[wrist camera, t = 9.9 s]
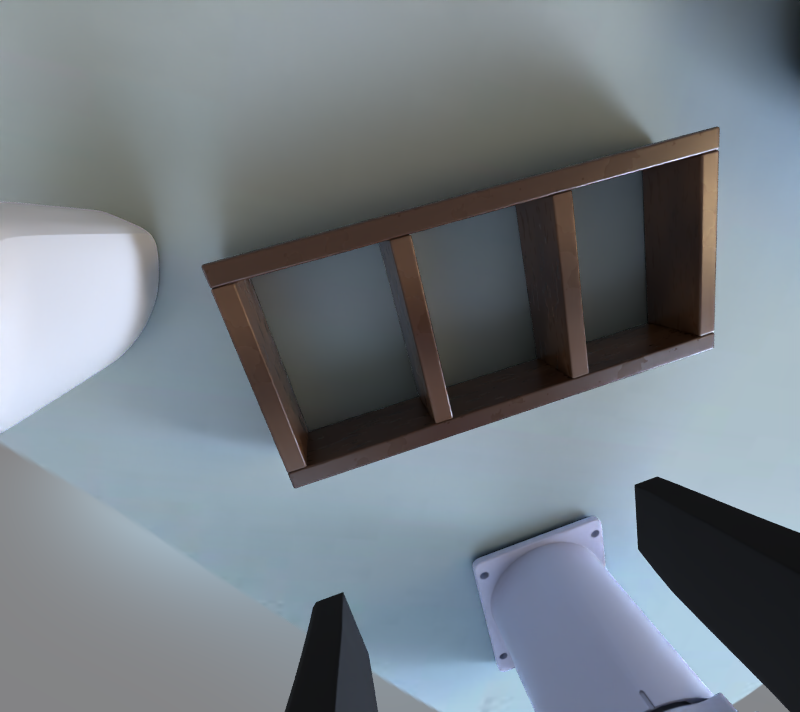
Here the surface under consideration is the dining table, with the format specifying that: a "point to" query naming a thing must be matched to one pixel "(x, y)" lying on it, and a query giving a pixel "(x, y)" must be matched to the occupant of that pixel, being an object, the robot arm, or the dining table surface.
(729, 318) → the dining table surface
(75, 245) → the eye dropper bottle
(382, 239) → the spice rack
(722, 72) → the dining table surface
